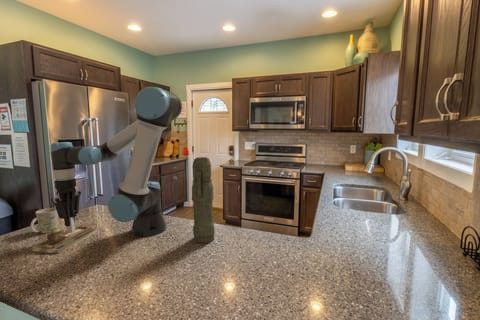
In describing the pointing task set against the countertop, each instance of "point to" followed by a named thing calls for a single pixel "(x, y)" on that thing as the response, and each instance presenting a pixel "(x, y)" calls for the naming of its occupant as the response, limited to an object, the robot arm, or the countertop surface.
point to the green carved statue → (202, 201)
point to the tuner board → (66, 240)
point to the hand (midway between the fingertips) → (71, 232)
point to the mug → (45, 220)
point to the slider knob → (56, 236)
